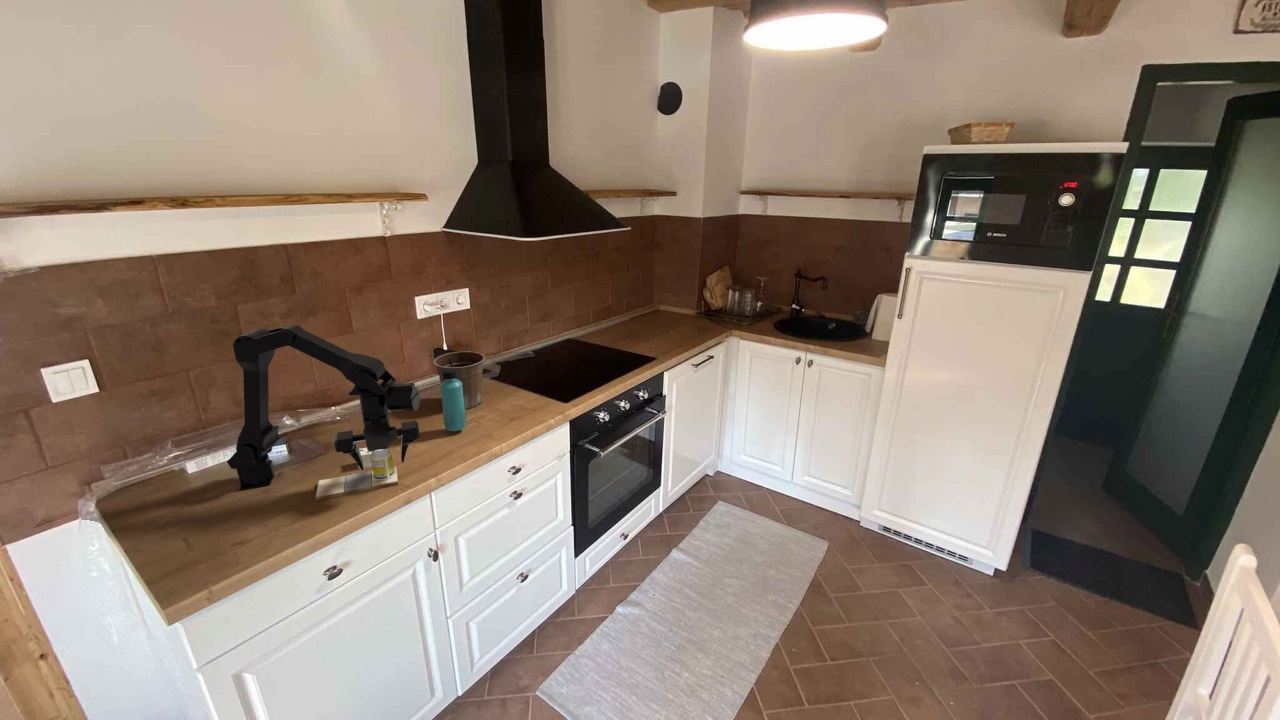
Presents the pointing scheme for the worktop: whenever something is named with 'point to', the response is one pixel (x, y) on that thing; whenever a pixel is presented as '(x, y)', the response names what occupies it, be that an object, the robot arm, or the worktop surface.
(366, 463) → the die
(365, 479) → the board
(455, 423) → the beverage bottle
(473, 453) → the worktop surface
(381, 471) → the supplement bottle
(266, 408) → the robot arm
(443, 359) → the plant pot
